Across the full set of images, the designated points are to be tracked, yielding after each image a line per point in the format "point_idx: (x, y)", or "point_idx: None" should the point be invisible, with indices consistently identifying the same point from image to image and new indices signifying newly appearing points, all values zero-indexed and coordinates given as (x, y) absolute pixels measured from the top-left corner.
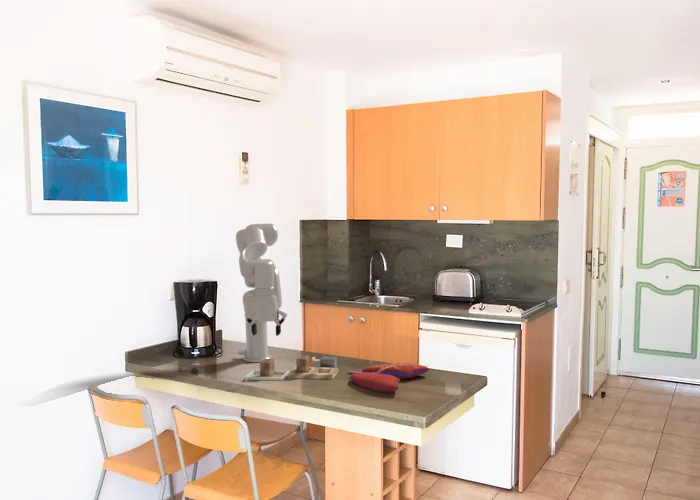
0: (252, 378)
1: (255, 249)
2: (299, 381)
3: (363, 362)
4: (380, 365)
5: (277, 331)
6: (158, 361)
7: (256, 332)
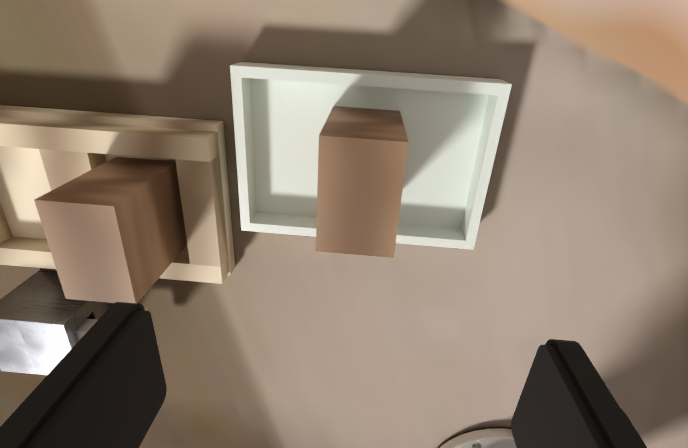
0: (451, 78)
1: None
2: (150, 109)
3: (3, 411)
4: None
5: (73, 354)
6: None
7: (521, 434)
